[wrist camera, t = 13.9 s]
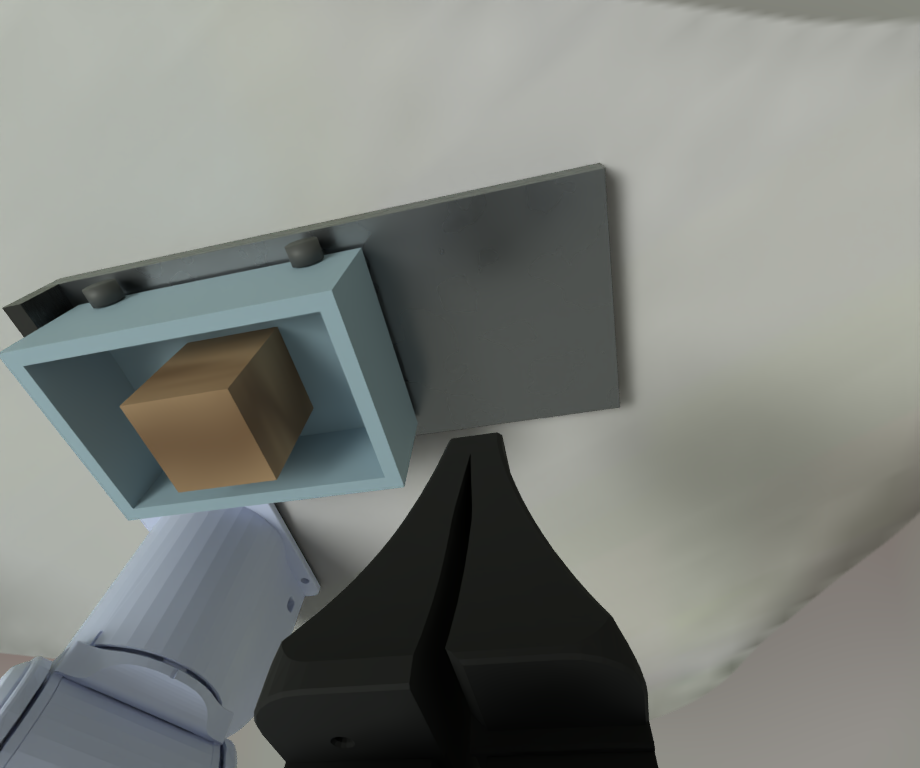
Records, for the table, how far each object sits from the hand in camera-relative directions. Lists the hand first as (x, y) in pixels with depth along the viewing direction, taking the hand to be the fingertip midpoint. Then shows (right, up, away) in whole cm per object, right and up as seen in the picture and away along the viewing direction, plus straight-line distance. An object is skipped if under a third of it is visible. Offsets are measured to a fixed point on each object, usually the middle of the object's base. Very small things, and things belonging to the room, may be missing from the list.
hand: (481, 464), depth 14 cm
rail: (-6, +4, +9) cm, 11 cm away
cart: (-9, +3, +8) cm, 13 cm away
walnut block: (-9, +2, +8) cm, 13 cm away
